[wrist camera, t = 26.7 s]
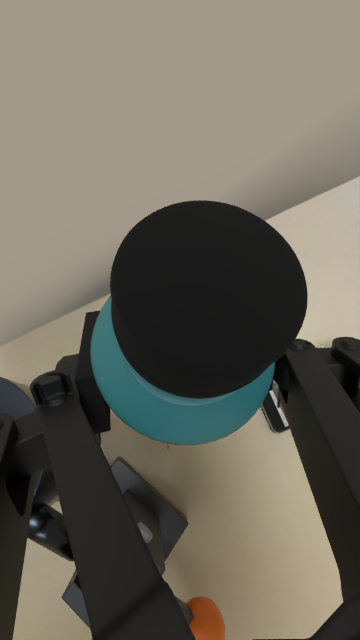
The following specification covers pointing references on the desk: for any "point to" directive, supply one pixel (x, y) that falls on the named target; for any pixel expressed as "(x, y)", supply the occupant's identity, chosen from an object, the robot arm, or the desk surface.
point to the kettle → (38, 479)
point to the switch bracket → (152, 520)
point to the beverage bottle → (196, 321)
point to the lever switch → (203, 618)
